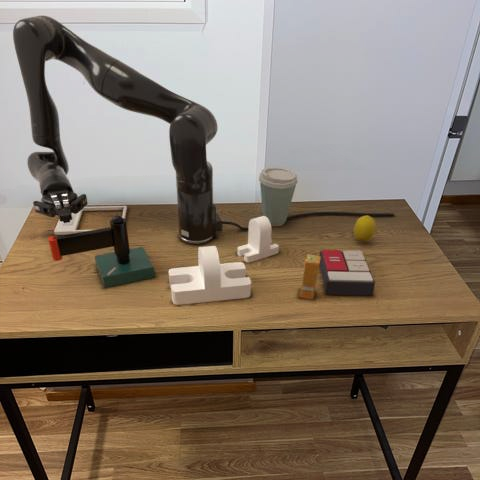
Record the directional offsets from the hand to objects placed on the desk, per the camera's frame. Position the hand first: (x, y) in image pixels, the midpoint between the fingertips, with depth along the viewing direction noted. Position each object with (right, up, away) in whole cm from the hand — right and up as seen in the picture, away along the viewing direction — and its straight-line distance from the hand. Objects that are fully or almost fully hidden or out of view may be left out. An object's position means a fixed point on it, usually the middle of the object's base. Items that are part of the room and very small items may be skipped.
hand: (66, 219), depth 114 cm
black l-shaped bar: (+6, -9, +2) cm, 11 cm away
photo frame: (-2, +5, +27) cm, 27 cm away
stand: (+12, -11, +8) cm, 18 cm away
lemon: (+73, -2, +22) cm, 76 cm away
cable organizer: (+45, -6, +16) cm, 48 cm away
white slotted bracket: (+33, -16, +3) cm, 36 cm away
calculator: (+65, -13, +8) cm, 67 cm away
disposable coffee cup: (+50, +5, +30) cm, 58 cm away
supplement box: (+56, -17, +2) cm, 58 cm away
